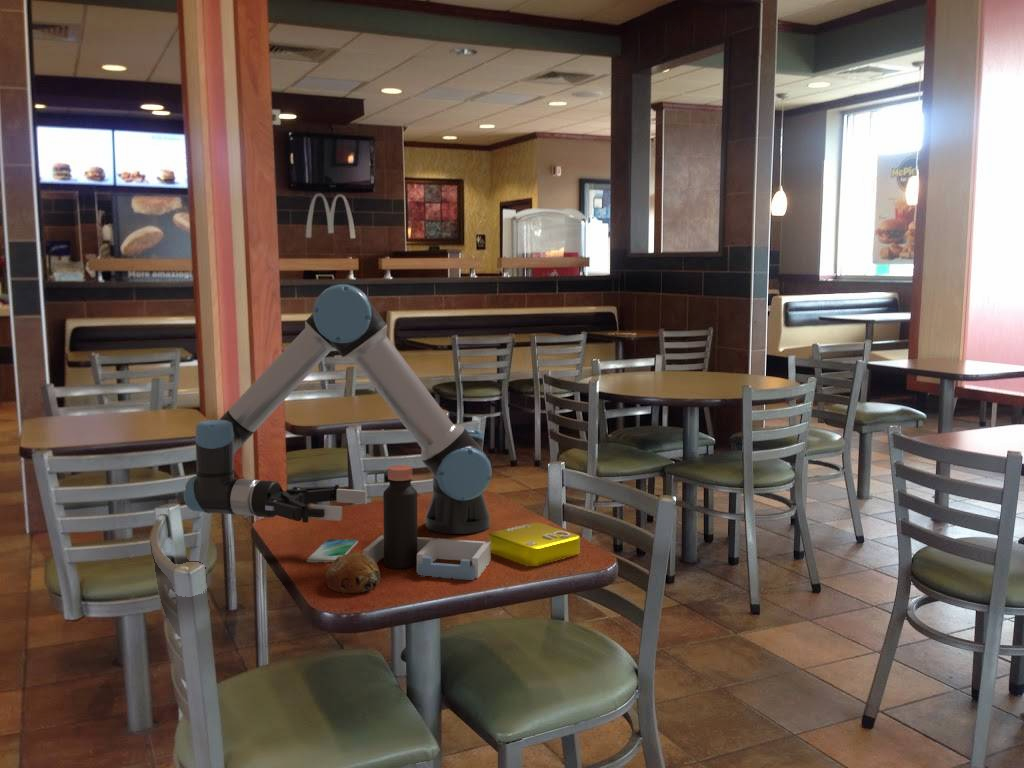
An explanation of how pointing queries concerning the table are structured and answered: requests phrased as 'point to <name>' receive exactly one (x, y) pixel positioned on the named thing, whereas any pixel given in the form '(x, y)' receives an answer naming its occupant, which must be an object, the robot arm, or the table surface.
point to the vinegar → (400, 519)
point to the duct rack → (443, 556)
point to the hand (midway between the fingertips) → (354, 505)
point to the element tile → (534, 543)
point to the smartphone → (332, 550)
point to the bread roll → (353, 573)
